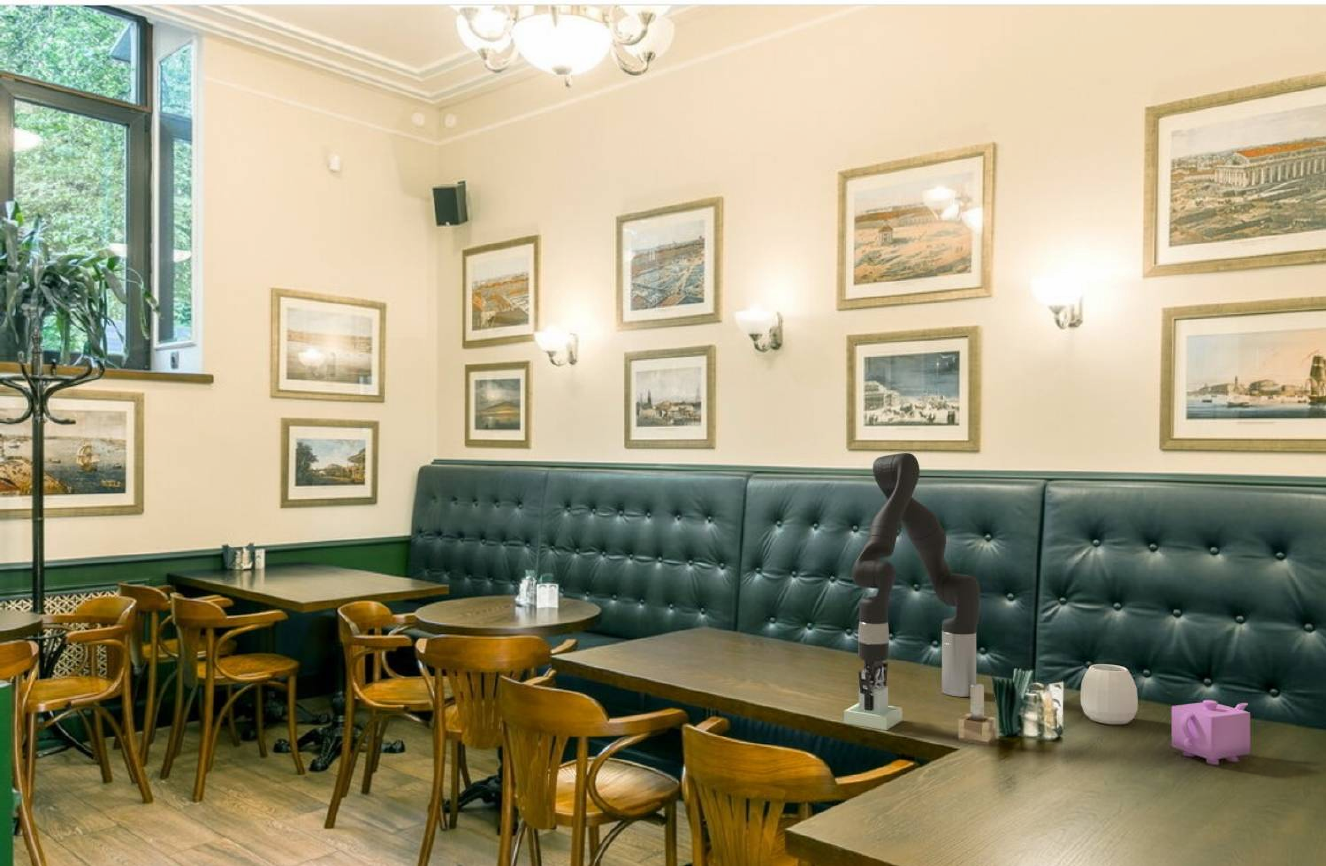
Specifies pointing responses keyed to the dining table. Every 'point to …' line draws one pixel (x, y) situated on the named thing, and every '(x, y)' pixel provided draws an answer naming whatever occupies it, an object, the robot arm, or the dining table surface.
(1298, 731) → the dining table surface
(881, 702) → the white cube
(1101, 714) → the white vase
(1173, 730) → the teapot
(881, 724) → the tray
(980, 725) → the oak block
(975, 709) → the cylinder
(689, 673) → the dining table surface
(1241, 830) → the dining table surface
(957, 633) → the robot arm
